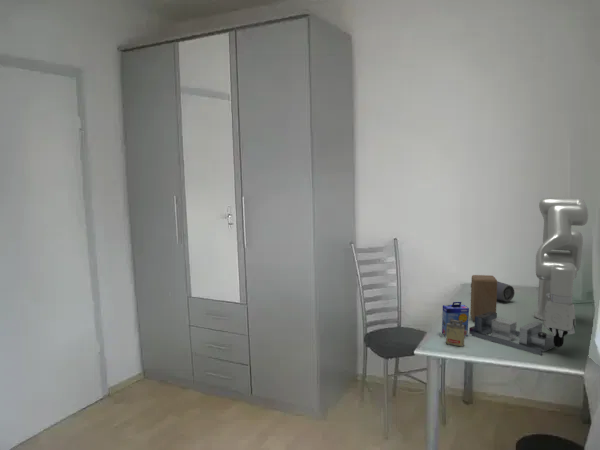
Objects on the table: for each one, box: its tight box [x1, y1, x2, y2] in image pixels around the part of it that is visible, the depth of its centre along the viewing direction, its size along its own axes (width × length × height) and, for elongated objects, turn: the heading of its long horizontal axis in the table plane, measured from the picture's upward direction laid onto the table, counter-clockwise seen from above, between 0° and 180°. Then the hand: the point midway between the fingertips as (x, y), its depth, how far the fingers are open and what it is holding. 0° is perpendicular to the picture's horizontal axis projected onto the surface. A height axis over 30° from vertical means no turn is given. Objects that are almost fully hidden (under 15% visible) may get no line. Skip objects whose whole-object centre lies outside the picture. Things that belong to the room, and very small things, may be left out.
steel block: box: [490, 317, 517, 342], centre depth 208 cm, size 5×8×7 cm, turn 39°
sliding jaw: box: [518, 321, 555, 352], centre depth 197 cm, size 12×9×8 cm
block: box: [469, 274, 498, 322], centre depth 232 cm, size 10×10×20 cm
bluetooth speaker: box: [497, 280, 515, 302], centre depth 270 cm, size 23×9×10 cm, turn 25°
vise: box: [468, 311, 544, 356], centre depth 205 cm, size 16×31×8 cm, turn 39°
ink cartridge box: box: [441, 301, 470, 337], centre depth 212 cm, size 10×6×14 cm, turn 95°
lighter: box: [445, 319, 465, 347], centre depth 201 cm, size 7×4×10 cm, turn 57°
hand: (558, 345), depth 191 cm, fingers closed
